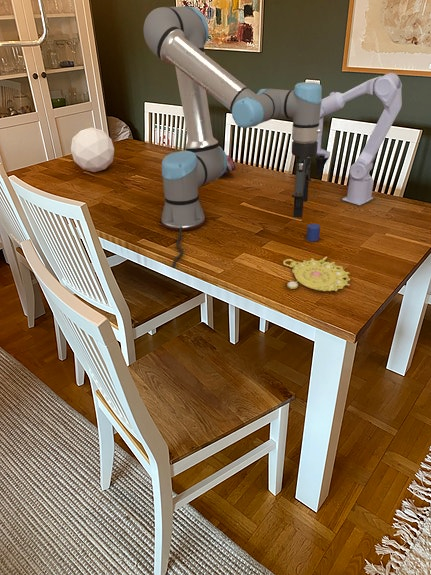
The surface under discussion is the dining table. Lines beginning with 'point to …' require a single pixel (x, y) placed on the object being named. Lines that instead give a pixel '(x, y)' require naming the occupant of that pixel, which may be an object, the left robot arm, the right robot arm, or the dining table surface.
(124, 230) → the dining table surface
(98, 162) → the sphere
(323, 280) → the decorative object
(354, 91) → the right robot arm
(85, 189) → the dining table surface
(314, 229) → the canister
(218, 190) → the dining table surface
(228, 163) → the athletic shoe
